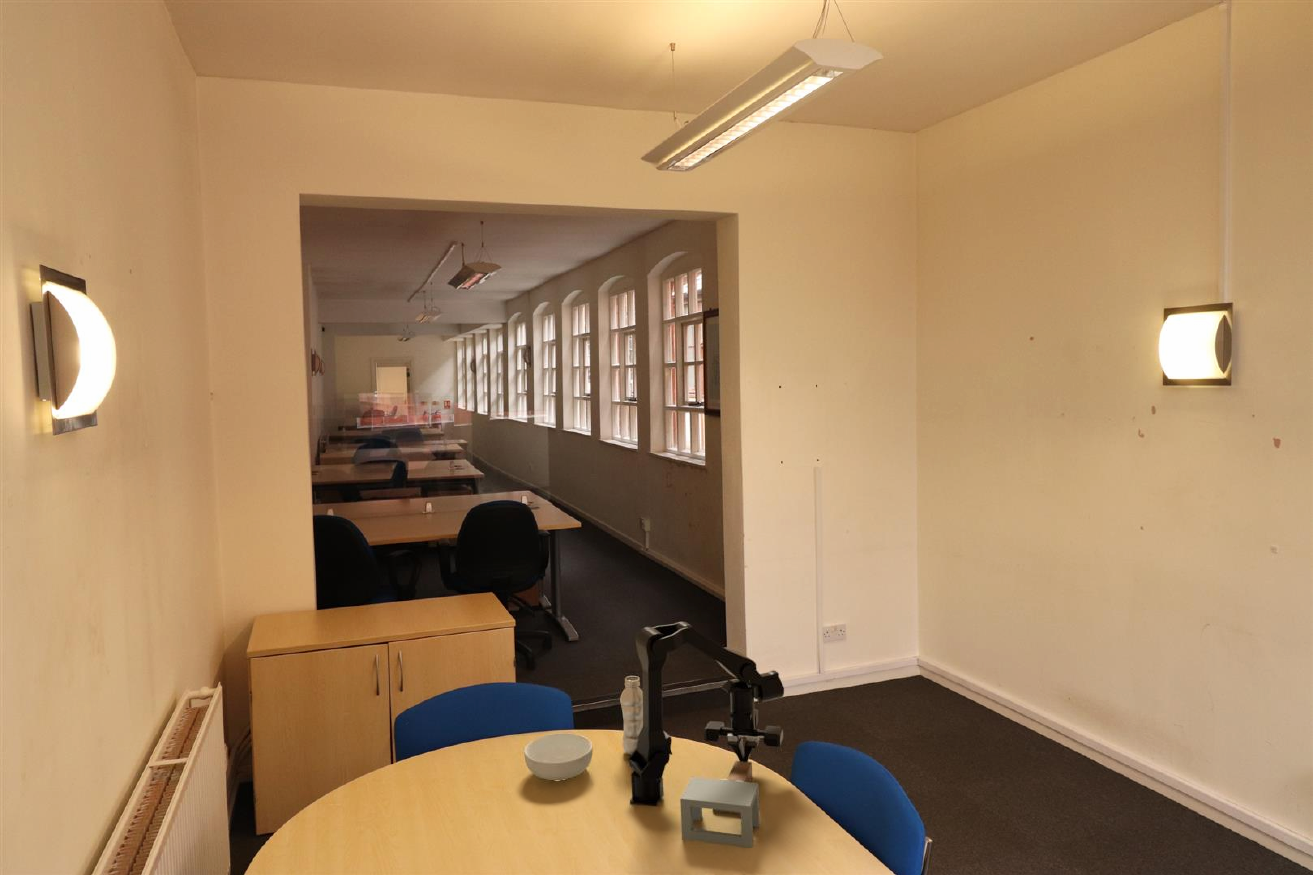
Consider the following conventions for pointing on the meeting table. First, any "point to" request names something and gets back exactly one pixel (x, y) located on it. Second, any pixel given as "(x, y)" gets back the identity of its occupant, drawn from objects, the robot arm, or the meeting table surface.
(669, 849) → the meeting table surface
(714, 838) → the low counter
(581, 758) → the cereal bowl
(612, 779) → the meeting table surface
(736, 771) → the glasses tray
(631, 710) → the plastic bottle
